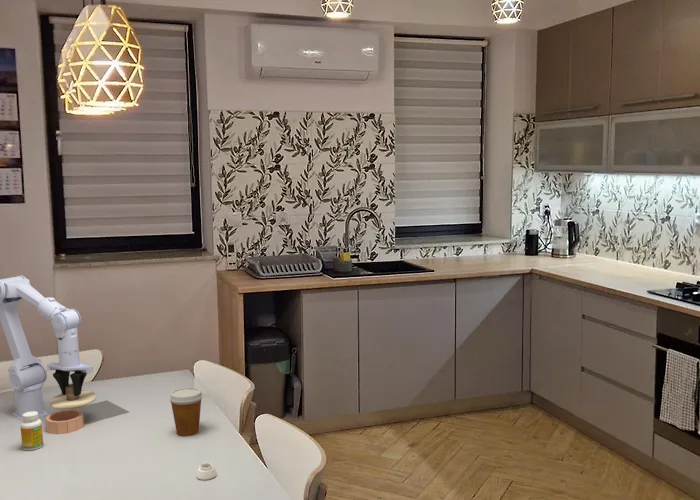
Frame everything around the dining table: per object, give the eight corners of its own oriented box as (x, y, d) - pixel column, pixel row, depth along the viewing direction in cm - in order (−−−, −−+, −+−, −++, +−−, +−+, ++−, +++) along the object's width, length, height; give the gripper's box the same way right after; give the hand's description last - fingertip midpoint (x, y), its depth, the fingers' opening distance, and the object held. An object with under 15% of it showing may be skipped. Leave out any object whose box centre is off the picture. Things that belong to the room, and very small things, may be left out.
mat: (64, 412, 226) (64, 411, 226) (107, 401, 236) (107, 400, 236) (86, 425, 215) (86, 423, 215) (129, 413, 224) (129, 411, 224)
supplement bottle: (35, 451, 196) (32, 417, 195) (18, 450, 197) (15, 416, 196) (47, 444, 201) (44, 410, 200) (30, 442, 202) (27, 409, 201)
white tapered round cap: (196, 482, 176) (216, 479, 177) (195, 470, 175) (216, 468, 177) (196, 473, 181) (216, 471, 182) (195, 462, 180) (215, 460, 181)
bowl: (41, 429, 212) (40, 416, 212) (75, 419, 219) (74, 407, 219) (55, 438, 205) (54, 424, 205) (89, 428, 212) (88, 415, 212)
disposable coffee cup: (211, 431, 208) (209, 391, 207) (183, 441, 201) (181, 400, 200) (192, 423, 215) (190, 385, 213) (164, 432, 208) (162, 393, 206)
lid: (43, 401, 215) (41, 386, 214) (85, 389, 224) (83, 374, 223) (60, 413, 206) (58, 397, 205) (103, 400, 215) (101, 385, 214)
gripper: (97, 348, 214) (100, 392, 216) (56, 345, 218) (59, 388, 220) (83, 354, 208) (86, 399, 209) (40, 351, 212) (44, 396, 213)
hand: (71, 394), depth 214 cm, fingers closed on lid, 4 cm apart
